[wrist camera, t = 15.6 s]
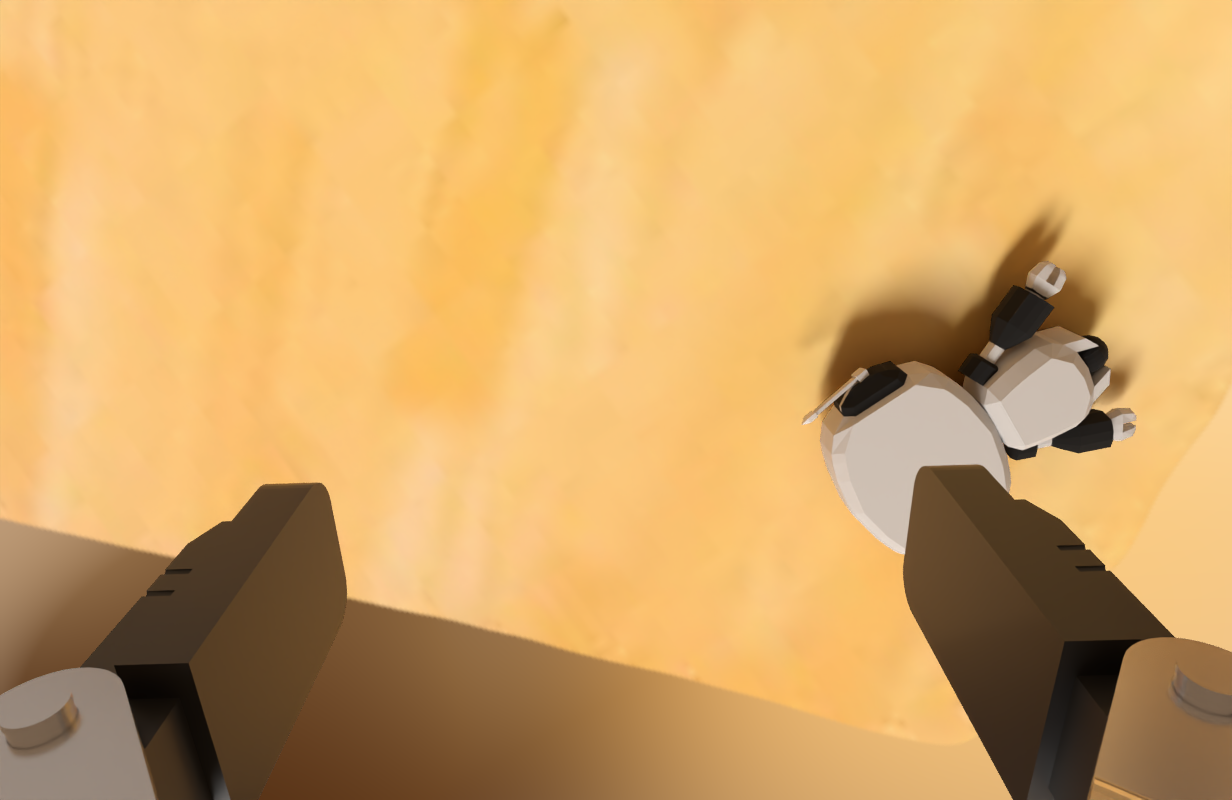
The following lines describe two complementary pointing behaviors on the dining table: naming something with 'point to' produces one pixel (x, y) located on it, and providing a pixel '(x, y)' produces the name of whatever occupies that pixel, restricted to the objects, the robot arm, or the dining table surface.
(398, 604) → the dining table surface
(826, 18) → the dining table surface
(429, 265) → the dining table surface
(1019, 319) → the robot toy
